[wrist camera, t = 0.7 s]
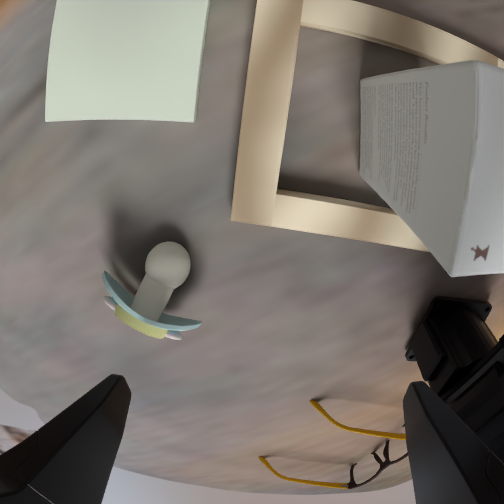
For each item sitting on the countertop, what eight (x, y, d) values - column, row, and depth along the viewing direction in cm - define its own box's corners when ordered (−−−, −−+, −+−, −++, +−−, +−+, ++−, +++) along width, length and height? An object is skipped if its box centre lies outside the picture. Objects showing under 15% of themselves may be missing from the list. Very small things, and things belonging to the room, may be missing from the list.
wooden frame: (512, 72, 13) (522, 72, 12) (469, 253, 20) (476, 260, 19) (260, -9, 14) (259, -15, 13) (233, 213, 20) (230, 220, 19)
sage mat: (218, -43, 13) (216, -46, 12) (195, 121, 18) (193, 122, 17) (65, -21, 13) (61, -22, 12) (49, 120, 18) (45, 121, 17)
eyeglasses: (353, 467, 36) (356, 490, 33) (258, 454, 35) (256, 480, 31) (419, 414, 30) (427, 442, 26) (310, 396, 28) (311, 430, 25)
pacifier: (101, 301, 23) (83, 303, 17) (136, 230, 25) (129, 213, 19) (183, 343, 24) (189, 358, 19) (216, 273, 26) (232, 267, 20)
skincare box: (420, 178, 18) (540, 277, 7) (357, 175, 18) (445, 284, 8) (424, 84, 15) (571, 95, 5) (358, 76, 16) (471, 56, 5)
